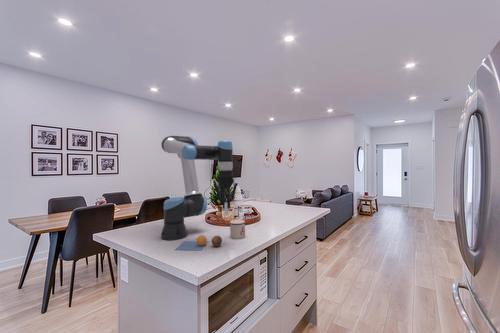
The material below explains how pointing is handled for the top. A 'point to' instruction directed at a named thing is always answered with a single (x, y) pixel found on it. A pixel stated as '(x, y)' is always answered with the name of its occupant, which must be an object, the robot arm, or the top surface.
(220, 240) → the walnut ball
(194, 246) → the mark
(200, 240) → the orange ball
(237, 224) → the teacup with lid
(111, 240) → the top surface
